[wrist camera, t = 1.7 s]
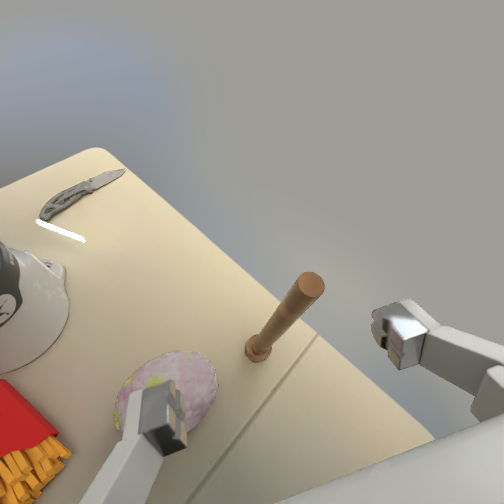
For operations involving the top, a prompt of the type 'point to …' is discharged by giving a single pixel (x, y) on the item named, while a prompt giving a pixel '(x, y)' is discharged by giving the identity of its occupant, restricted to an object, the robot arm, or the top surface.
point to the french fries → (25, 449)
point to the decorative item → (185, 377)
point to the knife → (78, 192)
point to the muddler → (285, 315)
